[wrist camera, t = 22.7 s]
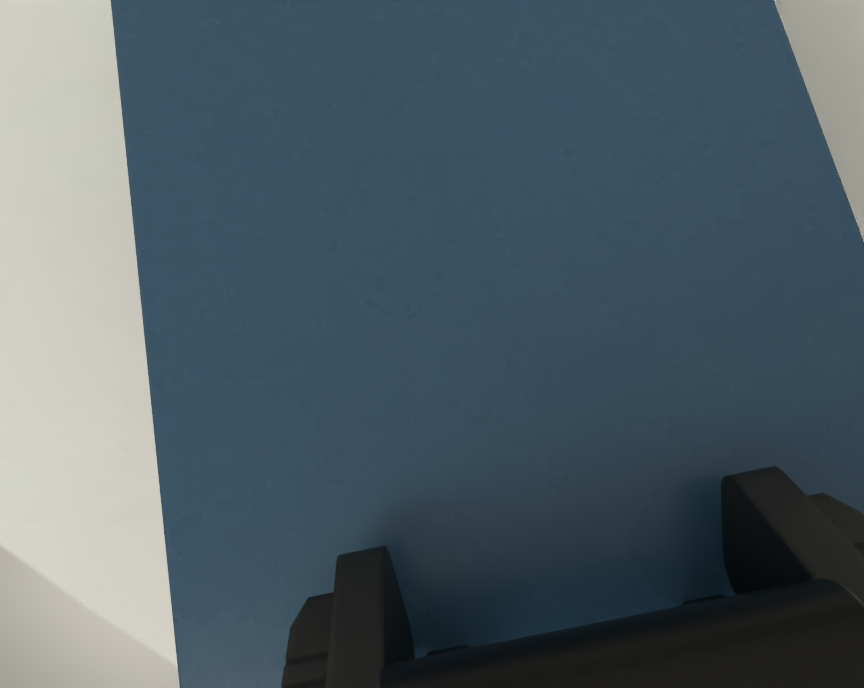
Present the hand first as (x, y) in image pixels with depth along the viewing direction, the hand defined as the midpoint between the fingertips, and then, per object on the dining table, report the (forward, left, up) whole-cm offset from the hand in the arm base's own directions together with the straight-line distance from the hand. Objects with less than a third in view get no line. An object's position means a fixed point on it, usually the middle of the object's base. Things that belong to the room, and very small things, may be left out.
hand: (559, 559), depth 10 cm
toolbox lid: (+2, -3, -4) cm, 5 cm away
